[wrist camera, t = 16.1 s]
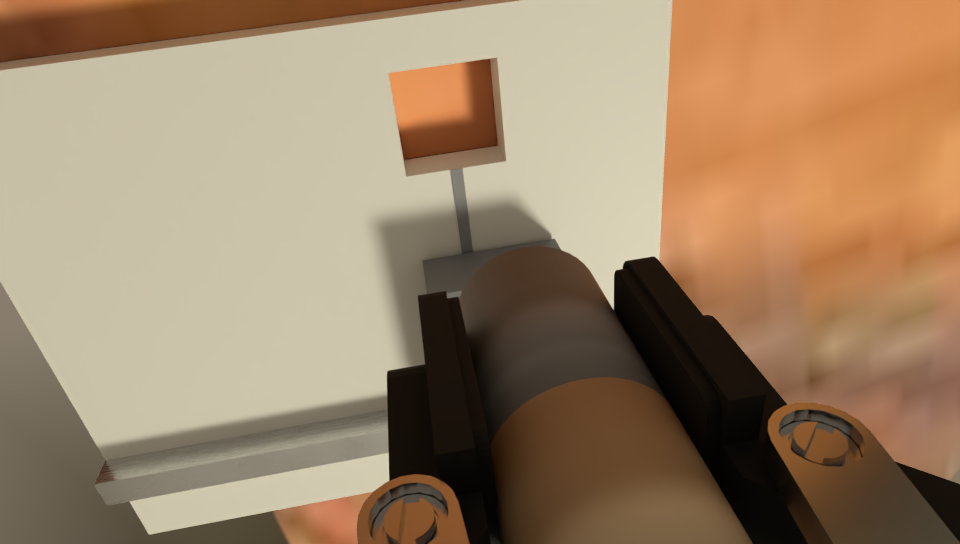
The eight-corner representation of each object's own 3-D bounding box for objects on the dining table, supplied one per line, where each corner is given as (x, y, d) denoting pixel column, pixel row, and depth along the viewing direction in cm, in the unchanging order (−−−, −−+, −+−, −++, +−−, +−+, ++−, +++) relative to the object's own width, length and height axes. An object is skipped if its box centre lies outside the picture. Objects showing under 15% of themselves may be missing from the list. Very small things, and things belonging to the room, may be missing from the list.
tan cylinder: (447, 260, 12) (541, 721, 5) (598, 234, 12) (881, 646, 5) (466, 379, 14) (557, 857, 7) (599, 354, 14) (822, 795, 7)
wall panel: (-79, 72, 23) (-147, 97, 20) (652, -25, 25) (690, -17, 22) (159, 504, 35) (140, 559, 32) (637, 414, 37) (660, 458, 34)
